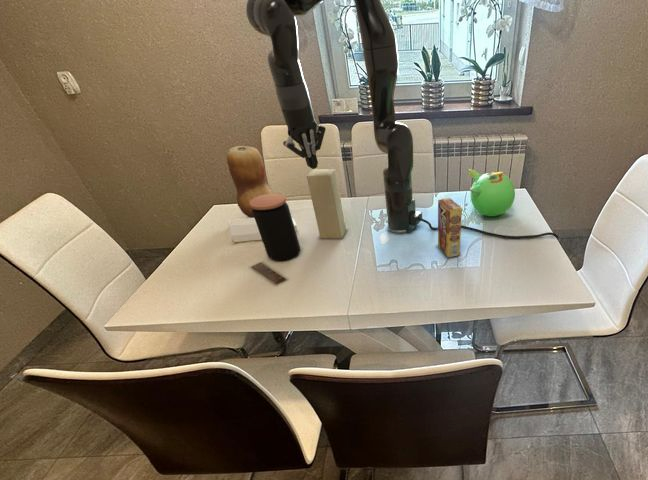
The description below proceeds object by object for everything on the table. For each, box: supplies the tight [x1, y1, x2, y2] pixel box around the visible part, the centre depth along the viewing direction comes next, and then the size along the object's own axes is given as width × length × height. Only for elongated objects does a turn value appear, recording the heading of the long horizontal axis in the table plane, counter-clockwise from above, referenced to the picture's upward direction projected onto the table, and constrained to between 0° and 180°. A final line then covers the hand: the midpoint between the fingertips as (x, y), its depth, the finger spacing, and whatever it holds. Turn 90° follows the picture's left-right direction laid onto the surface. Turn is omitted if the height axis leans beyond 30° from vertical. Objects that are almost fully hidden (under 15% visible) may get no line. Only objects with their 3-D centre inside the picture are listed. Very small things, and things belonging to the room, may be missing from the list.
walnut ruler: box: [251, 262, 286, 285], centre depth 116 cm, size 15×3×1 cm, turn 46°
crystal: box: [227, 217, 298, 243], centre depth 133 cm, size 7×7×24 cm
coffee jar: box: [249, 193, 301, 262], centre depth 118 cm, size 11×11×18 cm
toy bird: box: [467, 168, 516, 217], centre depth 136 cm, size 18×17×15 cm
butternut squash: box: [226, 145, 274, 218], centre depth 139 cm, size 14×13×25 cm
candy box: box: [437, 197, 463, 258], centre depth 116 cm, size 9×4×15 cm, turn 20°
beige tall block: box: [306, 168, 347, 239], centre depth 127 cm, size 8×7×21 cm
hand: (313, 167), depth 108 cm, fingers closed
